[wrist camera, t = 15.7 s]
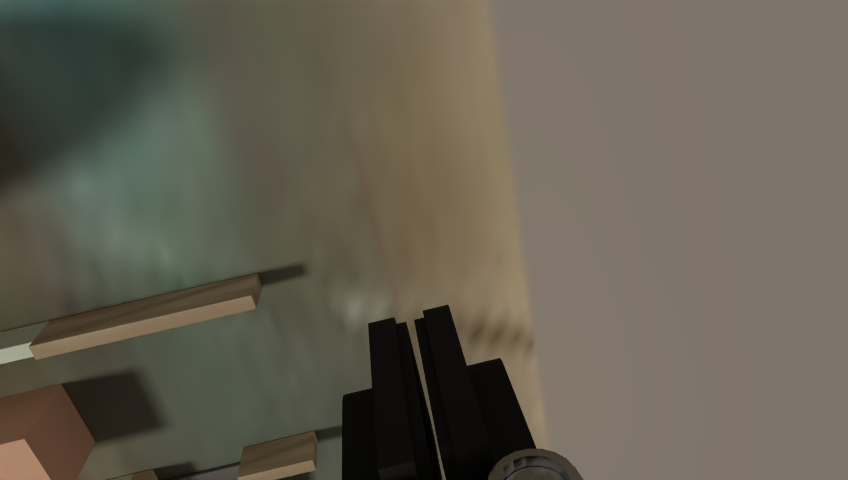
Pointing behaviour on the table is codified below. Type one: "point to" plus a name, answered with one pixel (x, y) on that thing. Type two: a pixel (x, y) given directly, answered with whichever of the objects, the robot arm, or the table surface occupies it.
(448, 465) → the robot arm
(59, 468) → the block
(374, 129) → the table surface
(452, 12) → the table surface
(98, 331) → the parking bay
